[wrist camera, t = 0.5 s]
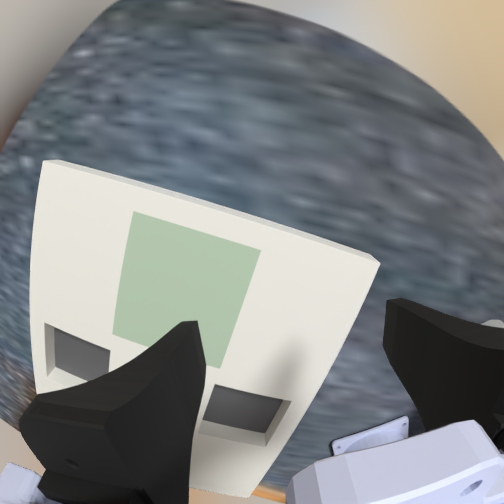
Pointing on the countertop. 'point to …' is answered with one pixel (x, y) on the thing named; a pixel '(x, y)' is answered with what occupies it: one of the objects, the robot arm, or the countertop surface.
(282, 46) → the countertop surface
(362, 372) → the countertop surface
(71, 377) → the board
